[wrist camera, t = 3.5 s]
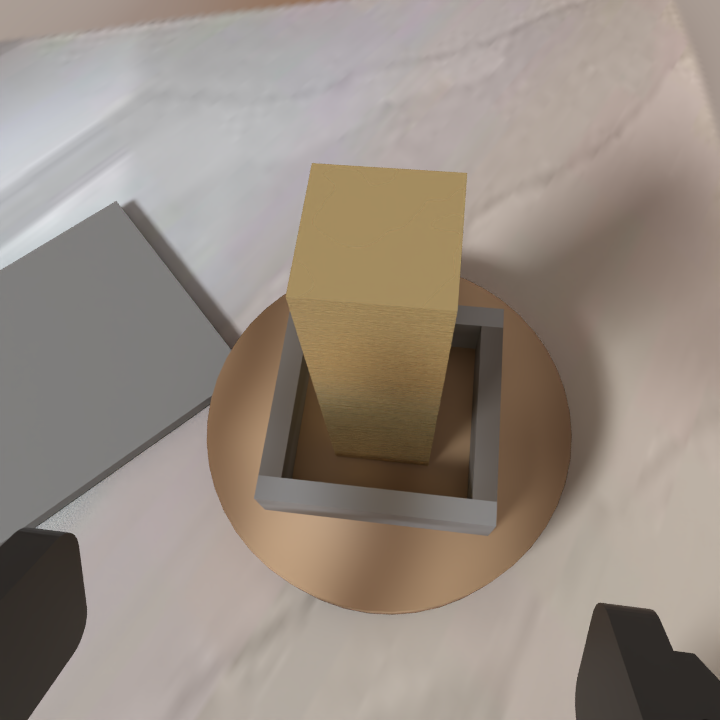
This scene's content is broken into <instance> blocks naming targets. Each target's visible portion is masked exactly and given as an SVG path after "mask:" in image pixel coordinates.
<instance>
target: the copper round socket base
mask: <svg viewBox="0 0 720 720" xmlns="http://www.w3.org/2000/svg"><path fill="white" fill-rule="evenodd" d="M571 438H572V434H571V422H570V412H569V407H568V403H567V398H566V394H565V390H564V387H563V384H562V381H561V379H560V376H559V373H558V371H557V368H556V366H555V365H554V363H553V361H552V359H551V357H550V355H549V353H548V351H547V349H546V348H545V347H544V345H543V344H542V342H541V341H540V339H539V338H538V337H537V335H536V334H535V332H534V331H533V330H532V329H531V328H530V327H529V326H528V324H527V323H526V322H525V321H524V320H523V319H522V318H521V317H520V316H519V315H518V314H517V313H516V312H515V311H514V310H512V309H511V308H510V307H509V306H508V305H507V304H505V303H504V302H503V301H502V300H500V299H499V298H497V297H496V296H494V295H493V294H491V293H490V292H488V291H487V290H485V289H484V288H482V287H480V286H478V285H476V284H474V283H472V282H470V281H468V280H466V279H464V278H461V277H460V282H459V297H458V311H457V317H456V322H455V327H454V332H453V338H452V343H451V348H450V353H449V359H448V364H447V369H446V374H445V380H444V385H443V390H442V396H441V401H440V406H439V411H438V417H437V422H436V427H435V432H434V438H433V443H432V448H431V453H430V459H429V464H428V466H425V465H416V464H407V463H398V462H388V461H379V460H370V459H361V458H351V457H342V456H335V453H334V449H333V446H332V443H331V440H330V437H329V434H328V430H327V427H326V424H325V421H324V418H323V414H322V411H321V408H320V405H319V402H318V398H317V395H316V392H315V389H314V386H313V383H312V379H311V376H310V373H309V370H308V367H307V363H306V360H305V357H304V354H303V351H302V347H301V344H300V341H299V338H298V335H297V332H296V328H295V325H294V322H293V319H292V316H291V312H290V309H289V306H288V303H287V300H286V294H285V295H283V296H282V297H280V298H279V299H278V300H276V301H275V302H274V303H273V304H271V305H270V306H269V307H267V308H266V309H265V310H264V311H263V312H262V313H261V314H260V315H259V316H258V317H257V318H256V319H255V320H254V321H253V322H252V323H251V324H250V325H249V326H248V328H247V329H246V330H245V331H244V333H243V334H242V335H241V336H240V338H239V339H238V340H237V342H236V344H235V345H234V347H233V348H232V350H231V352H230V353H229V355H228V357H227V358H226V360H225V363H224V365H223V367H222V369H221V371H220V374H219V376H218V378H217V381H216V385H215V388H214V391H213V395H212V398H211V403H210V409H209V415H208V422H207V449H208V459H209V467H210V471H211V475H212V479H213V483H214V487H215V490H216V492H217V495H218V497H219V500H220V502H221V505H222V507H223V510H224V512H225V514H226V515H227V517H228V519H229V520H230V522H231V524H232V526H233V527H234V529H235V531H236V532H237V534H238V535H239V536H240V537H241V539H242V540H243V541H244V542H245V544H246V545H247V546H248V548H249V549H250V550H251V551H252V552H253V553H254V554H255V555H256V556H257V557H258V558H259V559H260V560H261V561H262V562H263V563H264V564H265V565H266V566H267V567H268V568H269V569H271V570H272V571H274V572H275V573H276V574H278V575H279V576H281V577H282V578H283V579H285V580H286V581H288V582H289V583H290V584H292V585H294V586H295V587H297V588H299V589H301V590H303V591H305V592H306V593H308V594H310V595H312V596H314V597H316V598H318V599H320V600H322V601H325V602H328V603H330V604H333V605H336V606H339V607H342V608H345V609H350V610H355V611H360V612H365V613H374V614H391V615H393V614H405V613H416V612H421V611H425V610H430V609H434V608H439V607H442V606H444V605H447V604H449V603H452V602H455V601H457V600H460V599H462V598H464V597H466V596H468V595H470V594H471V593H473V592H475V591H477V590H479V589H480V588H482V587H484V586H486V585H487V584H489V583H490V582H492V581H493V580H495V579H496V578H497V577H498V576H500V575H501V574H502V573H504V572H505V571H506V570H508V569H509V568H510V567H512V566H513V565H514V564H515V563H516V562H517V561H518V560H519V559H520V558H521V557H522V556H523V555H524V554H525V553H526V552H527V551H528V550H529V549H530V548H531V546H532V545H533V544H534V542H535V541H536V540H537V538H538V537H539V536H540V534H541V533H542V531H543V530H544V529H545V527H546V526H547V524H548V522H549V520H550V518H551V516H552V514H553V512H554V511H555V509H556V507H557V505H558V502H559V499H560V496H561V494H562V491H563V488H564V485H565V482H566V477H567V473H568V468H569V463H570V455H571Z"/></svg>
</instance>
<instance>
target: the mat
mask: <svg viewBox="0 0 720 720" xmlns="http://www.w3.org/2000/svg"><path fill="white" fill-rule="evenodd" d="M230 352H231V349H230V348H229V346H228V345H227V344H226V342H225V341H224V340H223V339H222V337H221V336H220V335H219V333H218V332H217V331H216V329H215V328H214V327H213V326H212V324H211V323H210V322H209V320H208V319H207V318H206V317H205V315H204V314H203V313H202V311H201V310H200V309H199V307H198V306H197V305H196V304H195V302H194V301H193V300H192V298H191V297H190V296H189V295H188V293H187V292H186V291H185V289H184V288H183V287H182V285H181V284H180V283H179V282H178V280H177V279H176V278H175V276H174V275H173V274H172V273H171V271H170V270H169V269H168V267H167V266H166V265H165V263H164V262H163V261H162V260H161V258H160V257H159V256H158V254H157V253H156V252H155V251H154V249H153V248H152V247H151V245H150V244H149V243H148V242H147V240H146V239H145V238H144V236H143V235H142V234H141V232H140V231H139V230H138V229H137V227H136V226H135V225H134V223H133V222H132V221H131V220H130V218H129V217H128V216H127V214H126V213H125V212H124V210H123V209H122V208H121V207H120V205H119V204H118V203H117V201H115V202H114V203H112V204H110V205H109V206H107V207H105V208H104V209H102V210H100V211H99V212H97V213H95V214H94V215H92V216H90V217H89V218H87V219H85V220H84V221H82V222H80V223H79V224H77V225H75V226H74V227H72V228H70V229H69V230H67V231H65V232H64V233H62V234H60V235H59V236H57V237H55V238H54V239H52V240H50V241H49V242H47V243H45V244H43V245H42V246H40V247H38V248H37V249H35V250H33V251H32V252H30V253H28V254H27V255H25V256H23V257H22V258H20V259H18V260H17V261H15V262H13V263H12V264H10V265H8V266H7V267H5V268H3V269H2V270H0V546H1V545H2V544H3V543H5V542H6V541H7V540H8V539H9V538H10V537H11V536H12V535H13V534H14V533H15V532H16V531H18V530H19V529H21V528H25V527H28V528H35V527H36V526H38V525H39V524H41V523H42V522H44V521H45V520H46V519H48V518H49V517H51V516H52V515H53V514H55V513H56V512H58V511H59V510H61V509H62V508H63V507H65V506H66V505H68V504H69V503H70V502H72V501H73V500H75V499H76V498H78V497H79V496H80V495H82V494H83V493H85V492H86V491H88V490H89V489H90V488H92V487H93V486H95V485H96V484H97V483H99V482H100V481H102V480H103V479H105V478H106V477H107V476H109V475H110V474H112V473H113V472H114V471H116V470H117V469H119V468H120V467H122V466H123V465H124V464H126V463H127V462H129V461H130V460H132V459H133V458H134V457H136V456H137V455H139V454H140V453H141V452H143V451H144V450H146V449H147V448H149V447H150V446H151V445H153V444H154V443H156V442H157V441H158V440H160V439H161V438H163V437H164V436H166V435H167V434H168V433H170V432H171V431H173V430H174V429H176V428H177V427H178V426H180V425H181V424H183V423H184V422H185V421H187V420H188V419H190V418H191V417H193V416H194V415H195V414H197V413H198V412H200V411H201V410H202V409H204V408H205V407H207V406H208V405H210V403H211V398H212V395H213V391H214V388H215V385H216V381H217V378H218V376H219V374H220V371H221V369H222V367H223V365H224V363H225V360H226V358H227V357H228V355H229V353H230Z"/></svg>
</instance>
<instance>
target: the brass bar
mask: <svg viewBox="0 0 720 720" xmlns="http://www.w3.org/2000/svg"><path fill="white" fill-rule="evenodd" d="M466 182H467V173H458V172H442V171H426V170H411V169H395V168H379V167H363V166H348V165H332V164H316V163H312V165H311V170H310V175H309V181H308V186H307V191H306V196H305V201H304V206H303V211H302V216H301V221H300V226H299V231H298V236H297V242H296V247H295V252H294V257H293V262H292V267H291V272H290V277H289V282H288V287H287V292H286V300H287V303H288V306H289V309H290V312H291V316H292V319H293V322H294V325H295V328H296V332H297V335H298V338H299V341H300V344H301V347H302V351H303V354H304V357H305V360H306V363H307V367H308V370H309V373H310V376H311V379H312V383H313V386H314V389H315V392H316V395H317V398H318V402H319V405H320V408H321V411H322V414H323V418H324V421H325V424H326V427H327V430H328V434H329V437H330V440H331V443H332V446H333V449H334V453H335V456H342V457H351V458H361V459H370V460H379V461H388V462H398V463H407V464H416V465H425V466H428V464H429V459H430V453H431V448H432V443H433V438H434V432H435V427H436V422H437V417H438V411H439V406H440V401H441V396H442V390H443V385H444V380H445V374H446V369H447V364H448V359H449V353H450V348H451V343H452V338H453V332H454V327H455V322H456V317H457V311H458V297H459V282H460V268H461V254H462V239H463V225H464V211H465V196H466Z"/></svg>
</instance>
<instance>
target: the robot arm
mask: <svg viewBox="0 0 720 720" xmlns="http://www.w3.org/2000/svg"><path fill="white" fill-rule="evenodd" d="M86 619H87V605H86V597H85V589H84V582H83V574H82V566H81V558H80V551H79V544H78V540H77V538H76V537H75V535H74V534H72V533H67V532H60V531H52V530H44V529H36V528H28V527H25V528H21V529H19V530H18V531H16V532H15V533H14V534H13V535H12V536H11V537H10V538H9V539H8V540H7V541H6V542H5V543H3V544H2V545H1V546H0V720H28V718H29V717H30V715H31V714H32V713H33V711H34V710H35V708H36V707H37V705H38V704H39V703H40V701H41V700H42V698H43V697H44V695H45V694H46V692H47V691H48V690H49V688H50V687H51V685H52V684H53V682H54V681H55V680H56V678H57V677H58V675H59V674H60V672H61V671H62V669H63V668H64V667H65V665H66V664H67V662H68V661H69V659H70V658H71V657H72V655H73V654H74V652H75V650H76V649H77V647H78V645H79V643H80V641H81V638H82V635H83V632H84V629H85V625H86ZM575 710H576V720H720V681H719V679H718V678H717V677H716V676H715V675H714V674H713V673H712V672H711V671H710V670H709V669H708V668H707V667H706V666H705V664H704V663H703V662H702V661H701V660H700V659H699V658H698V657H697V656H696V655H695V654H693V653H685V652H678V651H673V649H672V646H671V644H670V642H669V639H668V637H667V635H666V632H665V630H664V628H663V626H662V623H661V621H660V619H659V617H658V615H657V614H656V612H655V611H654V610H651V609H645V608H637V607H629V606H622V605H614V604H606V603H598V604H597V605H596V606H595V609H594V611H593V615H592V619H591V623H590V627H589V631H588V635H587V640H586V644H585V648H584V652H583V656H582V661H581V665H580V669H579V673H578V677H577V683H576V693H575Z"/></svg>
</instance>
